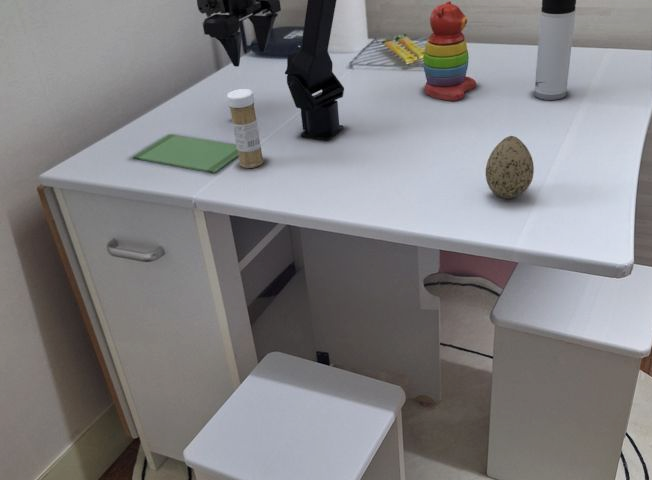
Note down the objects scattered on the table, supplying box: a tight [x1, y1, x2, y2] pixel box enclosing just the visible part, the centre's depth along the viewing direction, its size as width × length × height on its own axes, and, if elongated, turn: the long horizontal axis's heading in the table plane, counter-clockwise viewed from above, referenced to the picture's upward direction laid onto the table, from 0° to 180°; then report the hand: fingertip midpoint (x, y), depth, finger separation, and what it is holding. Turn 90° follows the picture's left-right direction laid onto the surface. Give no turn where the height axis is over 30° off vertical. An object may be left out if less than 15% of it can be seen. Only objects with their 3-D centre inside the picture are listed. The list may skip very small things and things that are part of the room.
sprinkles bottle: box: [226, 88, 265, 169], centre depth 123 cm, size 5×5×14 cm
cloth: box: [132, 134, 239, 174], centre depth 133 cm, size 20×11×1 cm, turn 60°
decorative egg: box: [485, 135, 535, 200], centre depth 106 cm, size 7×7×10 cm
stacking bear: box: [422, 0, 477, 102], centre depth 143 cm, size 11×10×18 cm
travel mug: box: [533, 0, 577, 101], centre depth 135 cm, size 6×7×20 cm
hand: (249, 58), depth 140 cm, fingers open, 9 cm apart
